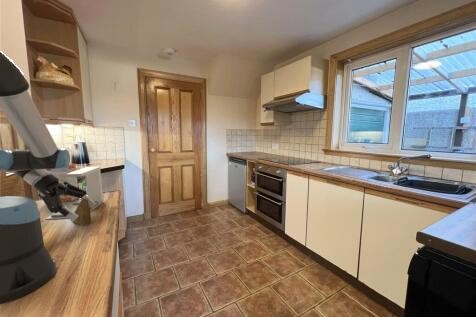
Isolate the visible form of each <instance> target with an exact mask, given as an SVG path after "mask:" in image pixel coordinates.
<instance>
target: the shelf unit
mask: <svg viewBox="0 0 476 317" xmlns="http://www.w3.org/2000/svg"><path fill="white" fill-rule="evenodd" d="M101 169H102V168H101V166H86V167H82V168H80V169H78V170H77V169H76V171H74V172H71V173H68V174H66V177H77V178H81V177H85V181H86V182H85V183H86V190H87V191H86V192H87V197H88V198H90V199H91V200H92V201H94V202H95V203H96V205H95V206H94V207H93V208H91V207H90V212H91V211H93V210H94V209H96V208H97V207H98V206H100V205H101V204H102V203H104V201H105V200H104V192H103V182H102V173H101V172H102V171H101ZM79 203H80V201H79V202H77V201H76V202H72V203H70V204H69V205H67V206H66V207H67V208H68V209H70V210H71V211H73V212H75V210H76V208H77V206H78V204H79ZM64 219H68V220H69V218H67V217H66V216H64V215H62V214H61V213H59V212H57V213H54V212H53V213H52V214H51V215H49V216H47V217H46V218H44V221H48V220H64Z"/></svg>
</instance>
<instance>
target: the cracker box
mask: <svg viewBox="0 0 476 317" xmlns="http://www.w3.org/2000/svg"><path fill="white" fill-rule="evenodd" d="M46 170H47V171H49V172H50V174H53V175H54V176H55V177H57V178H58V179H59V181H58V182H59V183H60V184H63V183H64V182H67V183H69V184H71V185H73V186H75V187H77V188H79V183H78V177H66V174H68V173H71V172H74V171H77V168H76V163H70V164H69V166H67V167H63V168H56V169H46ZM78 199H79V200H80V198H77V197H74V196H70V195H61V196H60V200H61V202H74V201H76V200H78Z"/></svg>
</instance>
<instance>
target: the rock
mask: <svg viewBox="0 0 476 317" xmlns="http://www.w3.org/2000/svg"><path fill="white" fill-rule="evenodd" d="M79 202H80V203H79V204H78V206H77V208H76V210H75V212H74V213H75V214H77V215H78V216H79V217H78V218H77V219H76V220H75V221H72V220H70V221H71V222H72V223H73V224H74V225H75V224H77V225H81V226H88V225H90V224H91V223H92V222H91V220H92V217H91V211H90V207H89V203H88V200H87V199H82V200H80V201H79Z"/></svg>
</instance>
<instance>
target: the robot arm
mask: <svg viewBox="0 0 476 317" xmlns="http://www.w3.org/2000/svg"><path fill="white" fill-rule="evenodd" d="M29 89H30V84H29V82H28V80H27V78H26V76H25V74H24V73H23V72H22V70H21V69H20V68H19V67H18V65H16V64H15V62H14V61H13V60H12V59H11V58H10V57H8V55H6V54H5V53H4V52H2V51H1V50H0V111H1V112H2V114H3V115H4V117H6V120H8V122H9V123H10V125H11V127H12V128H13V129H14V131H15V133H17V135H18V136H19V138H20V139H21V141H22V142H23V144H24V145H25V147H26V148H27V149H26V150H25V149H24V150H23V149H21V150H20V149H17V148H16V149H9V150H7V149H1V148H0V172H5V173H13V174H15V175H16V176H18V177H19V178H21V179H22V180H23V181H25V182H26V183H27V184H29V185H30V186H31V187H33V188H34V189H35V190H37V191H38V192H39V193H38V197H39V198H41V199H42V201H43V202H44V204H45V206H46V208H47V209H48V211H49V212H50V213H52V214H54V213H57V212H59V213H61V214H62V215H64V216H66V217H67V218H68V220H70V221H71V220H72V221H71V222H73V221H75V220H76V219H77V218H78V217H79V216H78V215H77V214H75V213H74V212H73V211H71V210H70V209H68V208H67V206H66V205H64V206H63V203H62V201H61V200H60V196H61V195H70V196H74V197H77V198H79V200H80V201H81V200H82V199H87V200H88V203H89V207H91V208H93V207H94V206H95V205H96V203H95V202H94V201H92V200H91V199H90V198H88V191H86V190H83V189H82V188H80V187H78V188H77V187H75V186H73V185H71V184H69V183H67V182H64V183H63V184H60V183H59V182H58V181H59V179H58V178H57V177H55V176H54V175H53V174H50V172H49V171H47V170H46V169H56V168H63V167H67V166H69V164H71V155H70V151H69V150H68V149H65V148H61V147H60V148H58V146H57V144H56V142H55V140H54V137H53V136H52V134H51V132H50V131H49V129H48V127H47V125H46V123H45V121H44V120H43V118H42V116H41V113H40V112H39V110H38V108H37V106H36V103H35V102H34V100H33V98H32V96H31V95H30V93H29ZM41 222H42V221H41V213H40V211H39V208H38V204H37V202H36V200H34V199H32V198H31V197H27V196H18V195H15V196H13V195H11V196H9V195H8V196H0V305H2V304H5V303H9V302H12V301H15V300H17V299H19V298H22V297H23V296H27V295H28V294H30V293H33V292H34V291H36V290H38V289H39V288H41V287H42V286H44V285H45V284H46V283H47V282H49V281H50V280H51V279H52V278H53V277H54V276H55V275H56V272H57V265H56V260H55V259H54V258H53V257H52V256H51V254H50V252H48V250H47V248H46V247H45V242H44V236H43V235H44V234H43V229H42V224H41Z"/></svg>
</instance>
